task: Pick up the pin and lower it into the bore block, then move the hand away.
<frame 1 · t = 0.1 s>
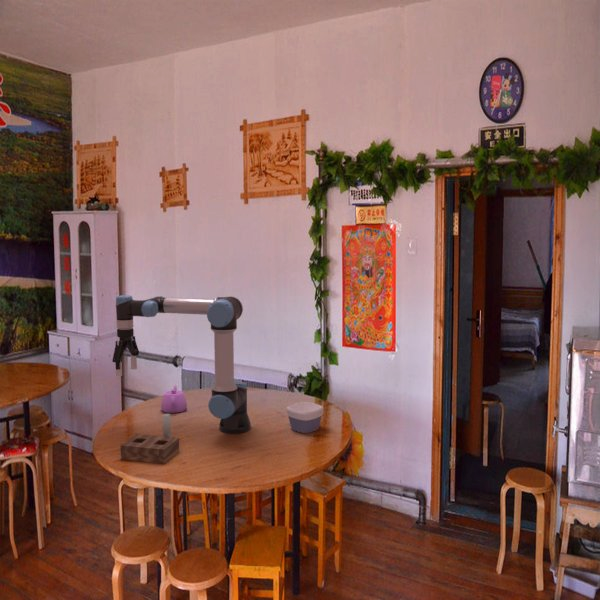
hand: (126, 372, 281), 28 cm above the table, fingers open, 13 cm apart
lidded storage container: (304, 429, 286), on the table
bore block: (150, 455, 254), on the table
teapot: (174, 410, 315), on the table
pin: (167, 445, 265), on the table
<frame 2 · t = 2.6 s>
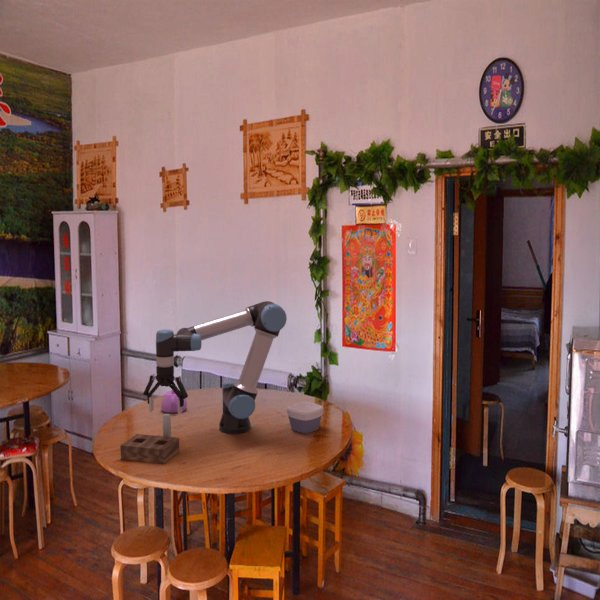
hand: (165, 412, 263), 15 cm above the table, fingers open, 13 cm apart
nothing on the table moved.
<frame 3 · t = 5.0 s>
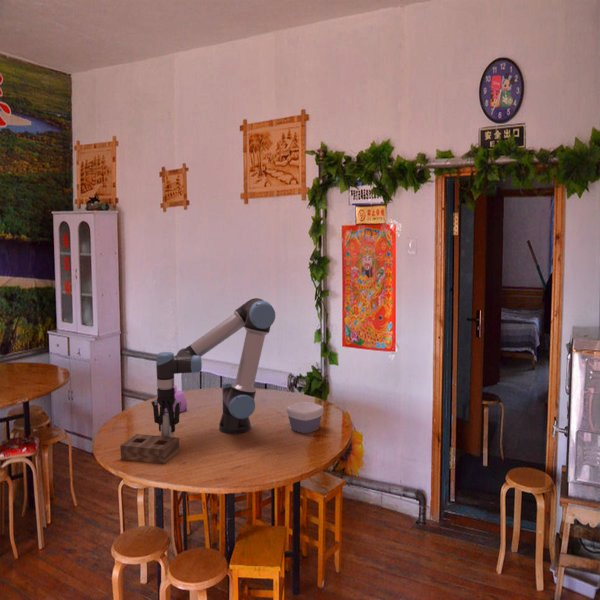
hand: (167, 438, 264), 3 cm above the table, fingers closed on pin, 3 cm apart
pin: (167, 445, 265), on the table, touching gripper
everything else where it was.
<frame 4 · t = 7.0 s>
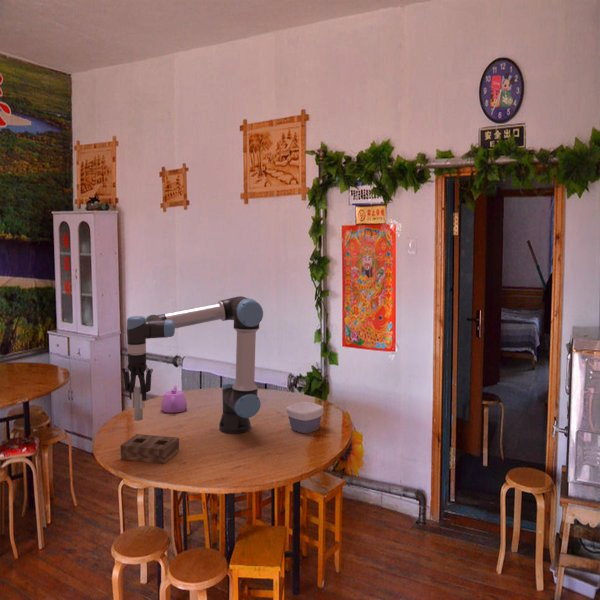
hand: (138, 407, 252), 21 cm above the table, fingers closed on pin, 3 cm apart
pin: (138, 419, 253), point 15 cm above the table, touching gripper
everything else where it was.
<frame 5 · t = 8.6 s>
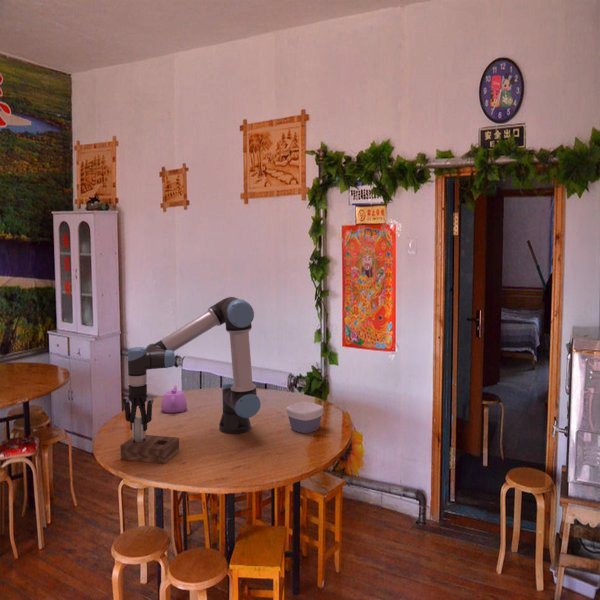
hand: (139, 437, 254), 7 cm above the table, fingers closed on pin, 3 cm apart
pin: (139, 449, 254), point 2 cm above the table, touching gripper
everything else where it was.
when the fingers open (7 cm above the table, at t = 9.3 s): pin stays where it is, resting on bore block.
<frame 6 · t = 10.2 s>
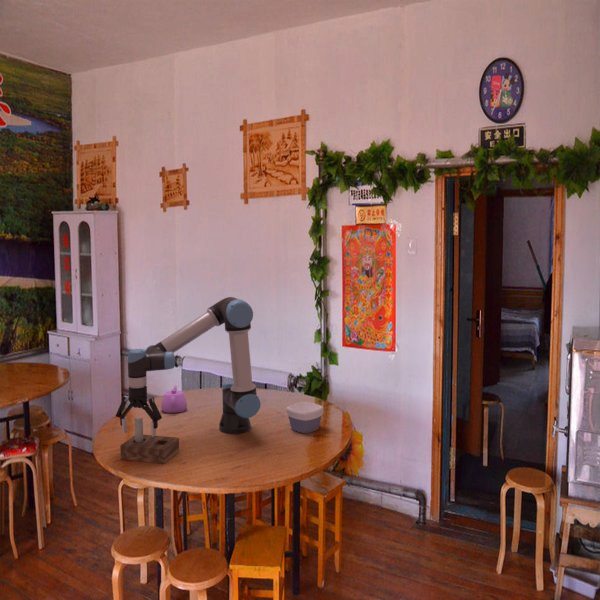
hand: (139, 434, 254), 9 cm above the table, fingers open, 13 cm apart
pin: (139, 450, 255), point 2 cm above the table, touching bore block
everything else where it was.
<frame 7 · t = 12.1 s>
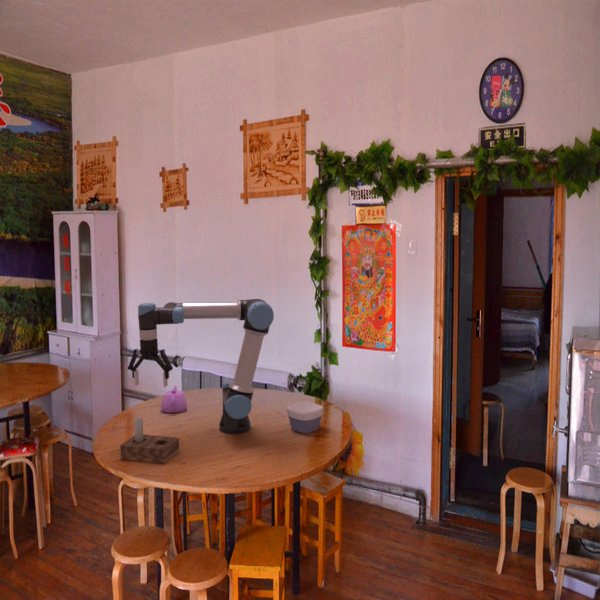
hand: (151, 385, 263), 27 cm above the table, fingers open, 13 cm apart
nothing on the table moved.
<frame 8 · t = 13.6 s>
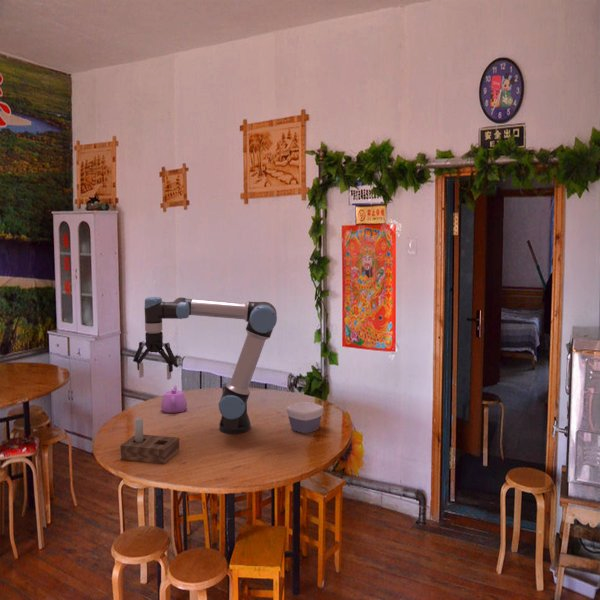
hand: (155, 378, 269), 29 cm above the table, fingers open, 13 cm apart
nothing on the table moved.
at the end: pin 0.1 cm from the target spot on the bore block, point 1.5 cm above the bore block's base; pin tilted 0°; the gripper is holding nothing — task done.
